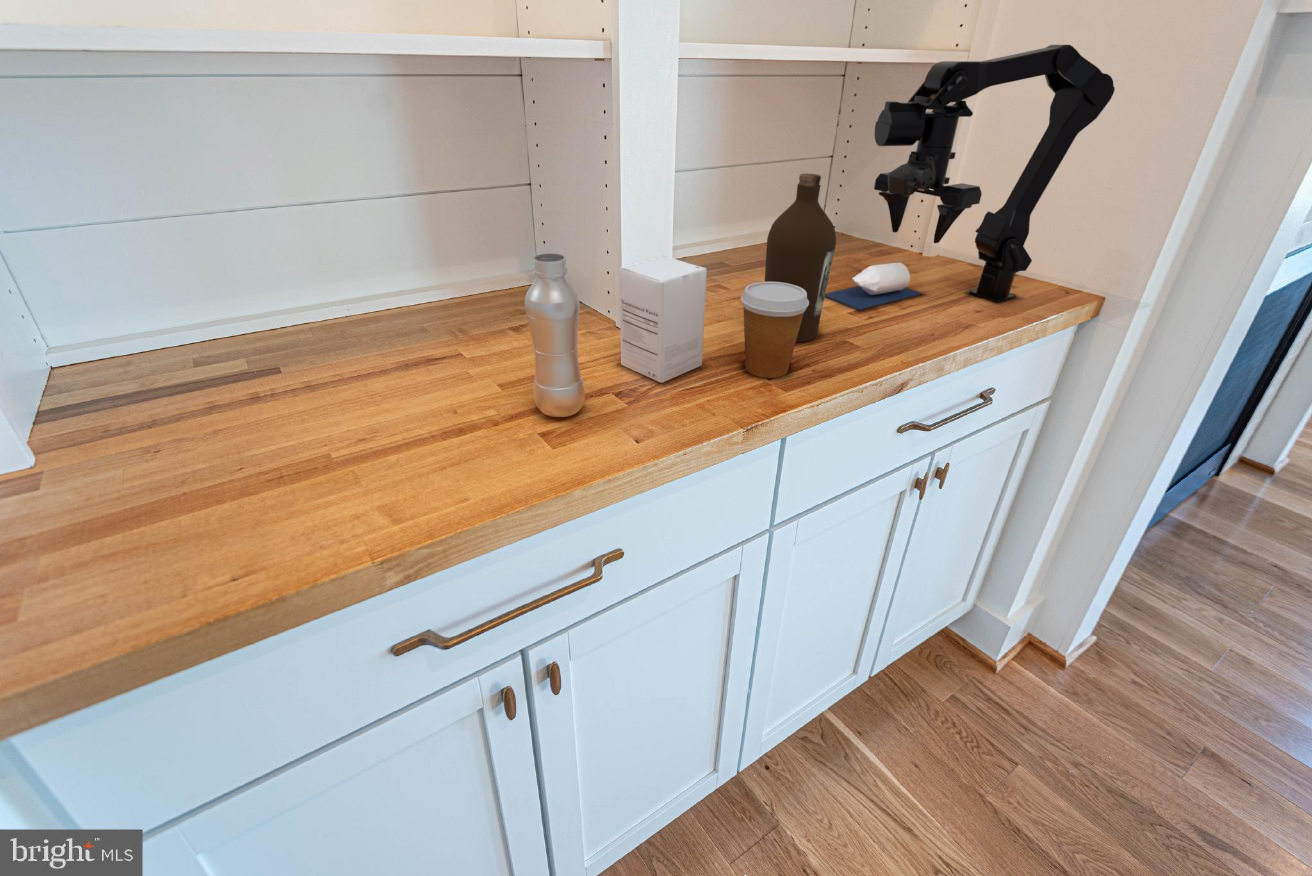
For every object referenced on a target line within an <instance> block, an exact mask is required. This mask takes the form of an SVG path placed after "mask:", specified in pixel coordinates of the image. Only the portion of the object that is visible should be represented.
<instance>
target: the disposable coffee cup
mask: <svg viewBox="0 0 1312 876" xmlns="http://www.w3.org/2000/svg"><path fill="white" fill-rule="evenodd" d="M740 301H741V303H742V304H741V306H743V333H744V334H743V335H744V339H743V340H744V365H745V370H746V372H748V373H749V374H751V375H754V376H756V377H760V378H766V379H768V378H769V379H773V378H774V379H775V378H780V377H783V376H785V375H786V374H788V371H789V366H790V364H791V360H792V356H793V352H794V350H795V345H796V343H795V342H796V339H797V336H798V332H799V328H800V325H801V321H802V317H803V314H804V311H805V310H806V308H807V307H808V305H809V301H808V299H807V293H806V291H805V290H804V289H802V288H800V287H798V286H795V285H792V284H788V283H782V282H765V281H758V282H753V283H750V284H748V285H747V286H746V287H745V288H744V291H743V294H741V296H740Z"/></svg>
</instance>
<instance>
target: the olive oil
mask: <svg viewBox="0 0 1312 876" xmlns="http://www.w3.org/2000/svg"><path fill="white" fill-rule="evenodd" d="M821 179H822V175H821V174H818V173H800V174H799V176H798V180H799V181H798V183H797V188H796V196H795V200H794V202H793V203H792V204H791V205H790V206H789V207H788V208H786V209H785V210H784V211H783V212H782V213H781V214H780V215H779V216H778V217H777V218H776V219H775V220H774V221H773V223H772V224H771V226H770V229H769V231H768V234H767V237H766V238H767V239H766V248H765V249H766V252H765V271H764V282H782V283H788V284H792V285H795V286H798V287H800V288H802V289H804V290H805V291H806V293H807V299H808V301H809V305H808V307H807V308H806V310H805V311H804V314H803V317H802V321H801V325H800V328H799V332H798V336H797V339H796V342H795V344H796V343H806V342H809V341H813V340H814V339H815V338H816V337H817V335H818V332H819V326H820V321H821V315H822V311H823V307H824V302H825V298H826V297H825V294H826V292H827V287H828V282H829V277H830V275H831V270H832V265H833V260H834V255H835V252H836V246H837V235H836V234H837V233H836V230H835V226H834V224H833V222H832V221H831V219H830V218H829V216H828V215H827V213H826V212H825V210H824V209H823V207H822V206H821V205H820V202H819V197H820V192H821V184H820V182H821V181H822V180H821Z"/></svg>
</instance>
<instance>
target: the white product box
mask: <svg viewBox="0 0 1312 876" xmlns="http://www.w3.org/2000/svg"><path fill="white" fill-rule="evenodd" d="M618 268H619V270H618V271H619V272H618V273H619V274H618V275H619V323H620V327H619V330H620V334H619V335H620V365H621V366H623V367H625V368H628V369H630V370H632V371H633V372H636V373H639V374H640V375H643V376H644V377H647V378H650V379H652V380H654V381H656V382H658V383H660V384H663V383H665V382H668V381H671V380H672V379H675V378H676V377H679V376H681V375H683V374H685V373H688V372H691V371H693V370H695V369H697V368H700V367H702V366H703V351H704V350H703V349H704V334H705V333H704V331H705V313H706V312H705V311H706V294H707V293H706V292H707V274H708V271H707V270H708V269H707V268H706V267H703V266H699V265H696V264H692V263H689V262H686V261H681V260H679V259H676V258H674V257H670V256H666V255H661V256H657V257H654V258H650V259H646V260H643V261H639V262H635V263H632V264H628V265H627V264H626V265H624V266H620V267H618Z"/></svg>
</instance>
